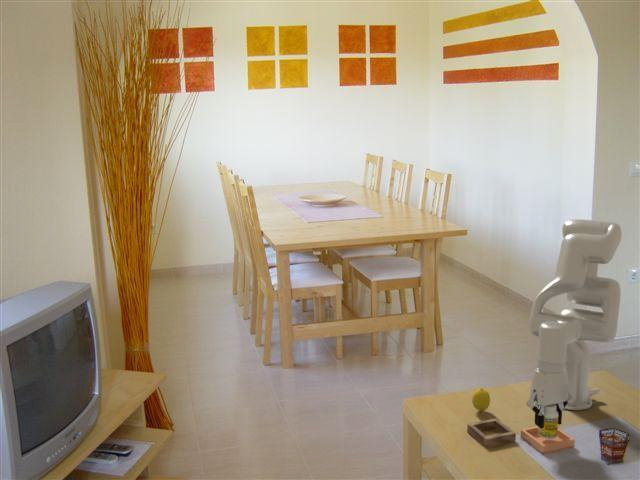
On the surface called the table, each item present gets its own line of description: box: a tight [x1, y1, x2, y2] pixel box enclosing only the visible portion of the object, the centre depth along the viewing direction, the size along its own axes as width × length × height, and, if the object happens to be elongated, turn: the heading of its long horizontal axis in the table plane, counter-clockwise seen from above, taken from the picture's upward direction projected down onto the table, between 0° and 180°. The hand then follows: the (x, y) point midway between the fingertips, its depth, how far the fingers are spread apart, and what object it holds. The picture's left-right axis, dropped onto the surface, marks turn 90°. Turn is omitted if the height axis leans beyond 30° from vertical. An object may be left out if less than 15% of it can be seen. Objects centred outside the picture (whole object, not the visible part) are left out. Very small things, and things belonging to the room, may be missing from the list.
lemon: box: [471, 387, 491, 413], centre depth 221 cm, size 6×6×8 cm
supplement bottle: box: [538, 404, 559, 439], centre depth 200 cm, size 5×5×10 cm
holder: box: [466, 418, 517, 448], centre depth 205 cm, size 10×10×2 cm
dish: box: [520, 425, 575, 455], centre depth 201 cm, size 11×11×2 cm
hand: (547, 423), depth 200 cm, fingers closed on supplement bottle, 5 cm apart
